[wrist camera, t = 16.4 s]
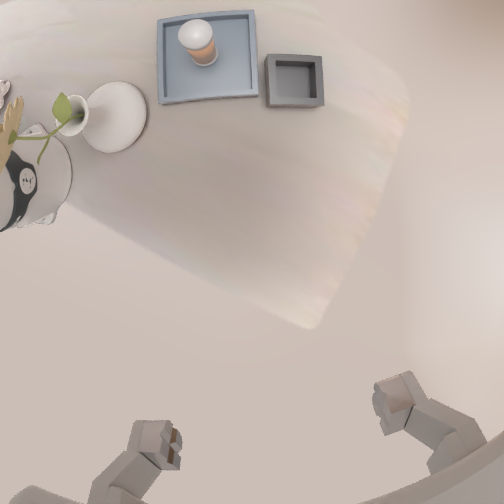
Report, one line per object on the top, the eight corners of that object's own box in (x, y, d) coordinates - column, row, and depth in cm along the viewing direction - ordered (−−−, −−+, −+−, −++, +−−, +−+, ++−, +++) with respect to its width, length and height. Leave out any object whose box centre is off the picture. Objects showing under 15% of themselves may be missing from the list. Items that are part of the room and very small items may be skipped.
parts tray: (163, 104, 37) (158, 103, 35) (161, 25, 31) (157, 20, 29) (257, 96, 37) (258, 94, 35) (253, 15, 32) (254, 9, 29)
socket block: (266, 107, 38) (270, 104, 34) (264, 61, 35) (267, 53, 31) (315, 107, 38) (324, 105, 34) (313, 62, 35) (321, 56, 31)
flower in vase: (120, 69, 34) (19, 30, 11) (164, 114, 38) (80, 102, 15) (69, 128, 37) (-44, 146, 14) (108, 173, 41) (4, 224, 18)
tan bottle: (192, 68, 35) (178, 49, 24) (192, 46, 33) (178, 21, 23) (218, 66, 35) (212, 45, 25) (217, 43, 33) (211, 17, 23)
